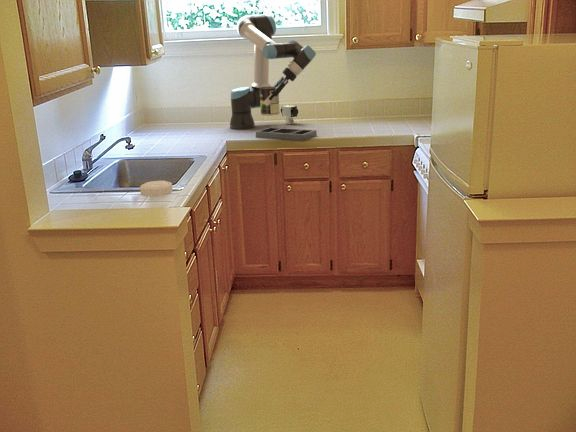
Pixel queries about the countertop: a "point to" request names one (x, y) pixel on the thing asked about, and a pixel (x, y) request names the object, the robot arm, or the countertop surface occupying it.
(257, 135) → the gray compartment tray
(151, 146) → the countertop surface
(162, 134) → the countertop surface
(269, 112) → the coffee can
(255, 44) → the robot arm
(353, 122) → the countertop surface
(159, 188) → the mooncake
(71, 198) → the countertop surface
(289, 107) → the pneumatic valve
